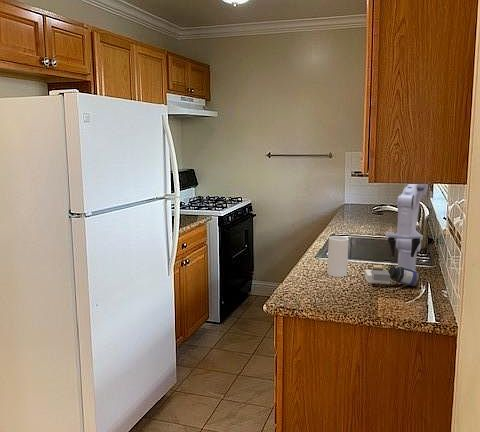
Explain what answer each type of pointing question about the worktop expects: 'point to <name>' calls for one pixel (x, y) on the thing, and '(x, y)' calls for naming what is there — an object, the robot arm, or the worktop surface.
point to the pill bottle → (404, 275)
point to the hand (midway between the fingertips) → (402, 256)
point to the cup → (337, 256)
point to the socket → (370, 279)
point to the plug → (378, 267)
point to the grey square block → (381, 275)
